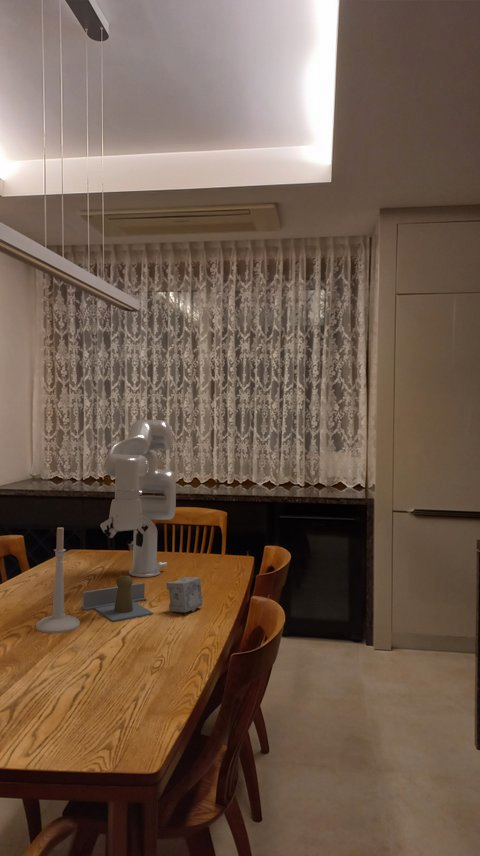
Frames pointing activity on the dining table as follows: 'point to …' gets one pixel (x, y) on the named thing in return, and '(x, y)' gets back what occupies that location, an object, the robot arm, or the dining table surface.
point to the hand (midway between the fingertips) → (125, 547)
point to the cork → (124, 595)
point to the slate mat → (114, 616)
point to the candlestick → (58, 598)
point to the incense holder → (185, 594)
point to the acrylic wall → (110, 596)
